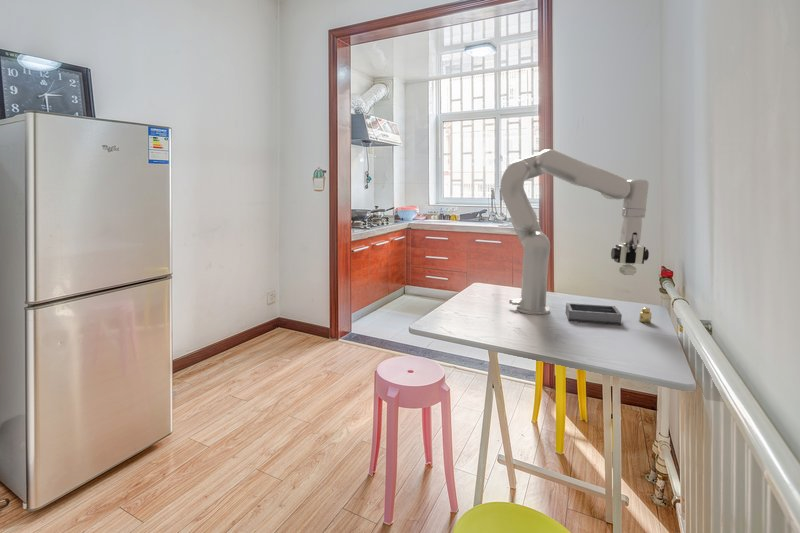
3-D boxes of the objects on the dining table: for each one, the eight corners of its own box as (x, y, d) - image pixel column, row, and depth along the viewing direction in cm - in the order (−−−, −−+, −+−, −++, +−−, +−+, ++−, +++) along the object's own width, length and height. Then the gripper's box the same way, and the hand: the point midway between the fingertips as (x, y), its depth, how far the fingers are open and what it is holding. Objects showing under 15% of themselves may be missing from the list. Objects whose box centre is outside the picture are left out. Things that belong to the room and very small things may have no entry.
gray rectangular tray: (568, 321, 154) (569, 310, 153) (565, 311, 166) (565, 301, 166) (620, 325, 149) (621, 314, 148) (613, 314, 162) (614, 304, 161)
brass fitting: (640, 323, 152) (642, 309, 151) (638, 320, 155) (639, 306, 154) (651, 323, 151) (653, 310, 150) (648, 321, 154) (650, 307, 153)
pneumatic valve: (646, 276, 155) (650, 244, 153) (612, 274, 157) (615, 243, 155) (640, 273, 160) (644, 242, 158) (608, 272, 163) (611, 241, 160)
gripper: (617, 212, 164) (612, 257, 167) (628, 214, 148) (622, 265, 151) (638, 212, 162) (633, 258, 165) (651, 215, 146) (645, 266, 149)
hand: (628, 261), depth 158 cm, fingers closed on pneumatic valve, 5 cm apart
